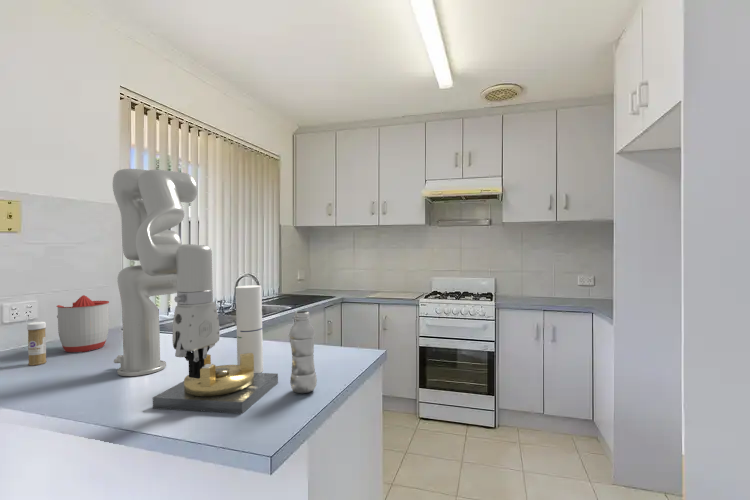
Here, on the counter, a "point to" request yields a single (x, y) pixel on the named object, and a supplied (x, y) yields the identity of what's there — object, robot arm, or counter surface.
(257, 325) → the cylindrical container
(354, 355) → the counter surface
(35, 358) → the sprinkles bottle
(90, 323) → the citrus juicer
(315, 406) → the counter surface
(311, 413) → the counter surface
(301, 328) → the plastic bottle
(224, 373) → the gold tabbed disc
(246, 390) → the base plate
